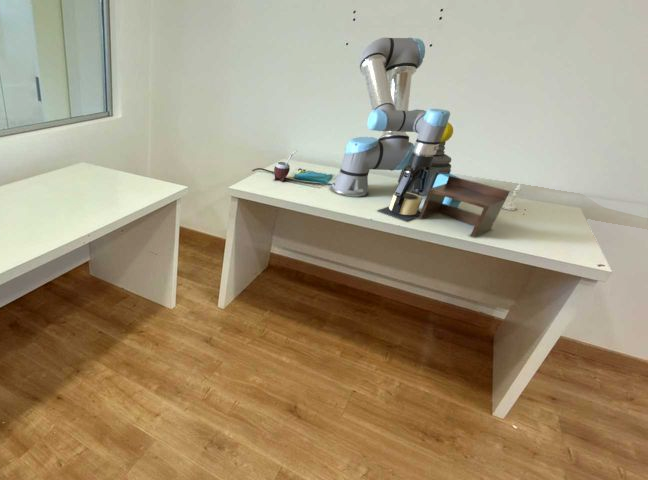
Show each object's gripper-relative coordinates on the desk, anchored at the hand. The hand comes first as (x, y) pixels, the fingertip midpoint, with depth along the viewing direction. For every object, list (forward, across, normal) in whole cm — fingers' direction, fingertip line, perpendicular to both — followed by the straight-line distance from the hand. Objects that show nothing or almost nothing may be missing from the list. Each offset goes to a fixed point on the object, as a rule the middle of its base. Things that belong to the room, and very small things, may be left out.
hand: (402, 209), depth 164 cm
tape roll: (0, 0, 0) cm, 0 cm away
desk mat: (+1, 0, 0) cm, 1 cm away
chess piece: (+2, +45, -20) cm, 49 cm away
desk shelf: (+1, +7, -16) cm, 18 cm away
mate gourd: (+1, -11, +54) cm, 55 cm away
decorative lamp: (+1, +35, +12) cm, 37 cm away
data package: (+2, +24, -4) cm, 24 cm away
